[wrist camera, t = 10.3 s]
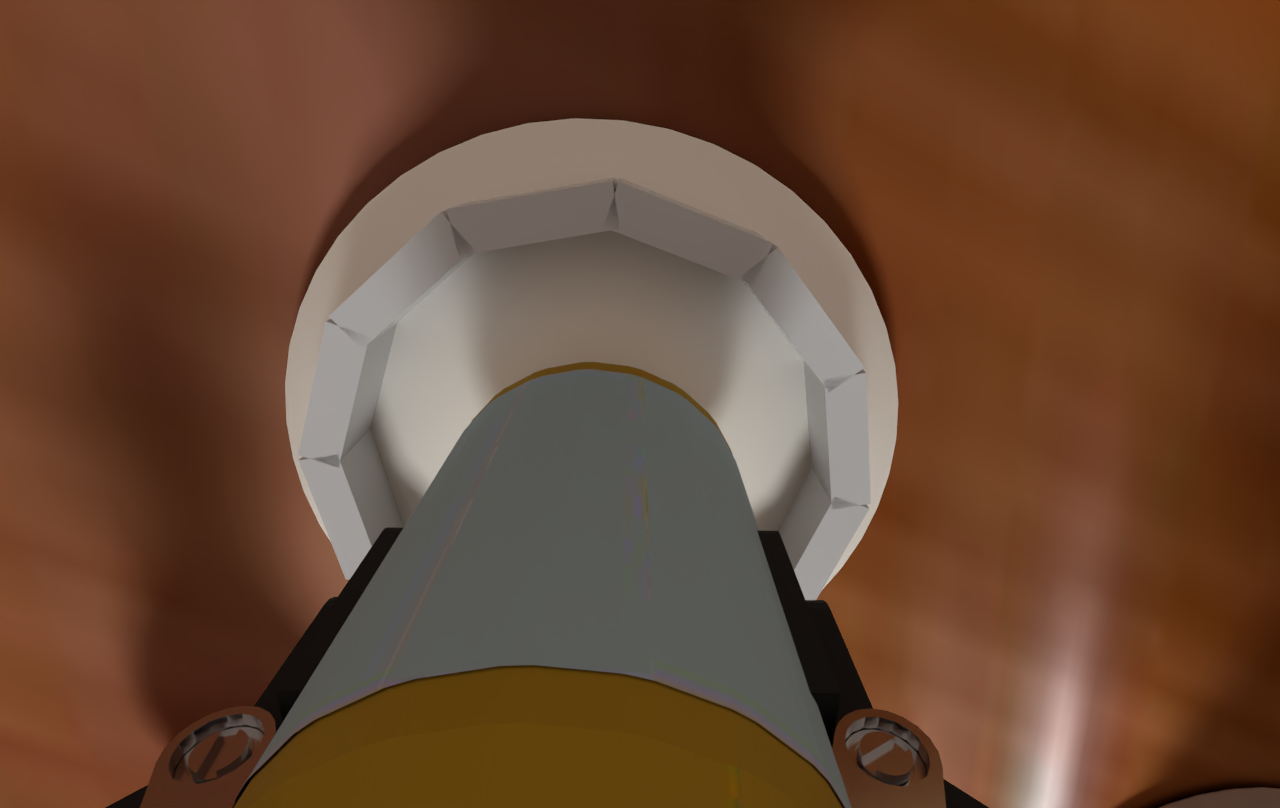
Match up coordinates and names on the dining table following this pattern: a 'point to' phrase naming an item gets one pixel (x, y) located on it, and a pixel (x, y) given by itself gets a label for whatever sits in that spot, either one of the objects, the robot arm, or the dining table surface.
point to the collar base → (593, 324)
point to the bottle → (565, 628)
